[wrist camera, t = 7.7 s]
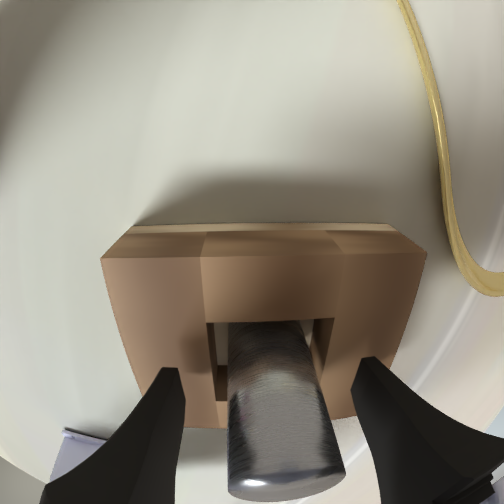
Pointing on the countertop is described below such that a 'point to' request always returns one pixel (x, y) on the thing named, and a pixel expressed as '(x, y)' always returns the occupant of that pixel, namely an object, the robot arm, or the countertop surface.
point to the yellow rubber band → (448, 170)
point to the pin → (277, 416)
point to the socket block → (259, 300)
